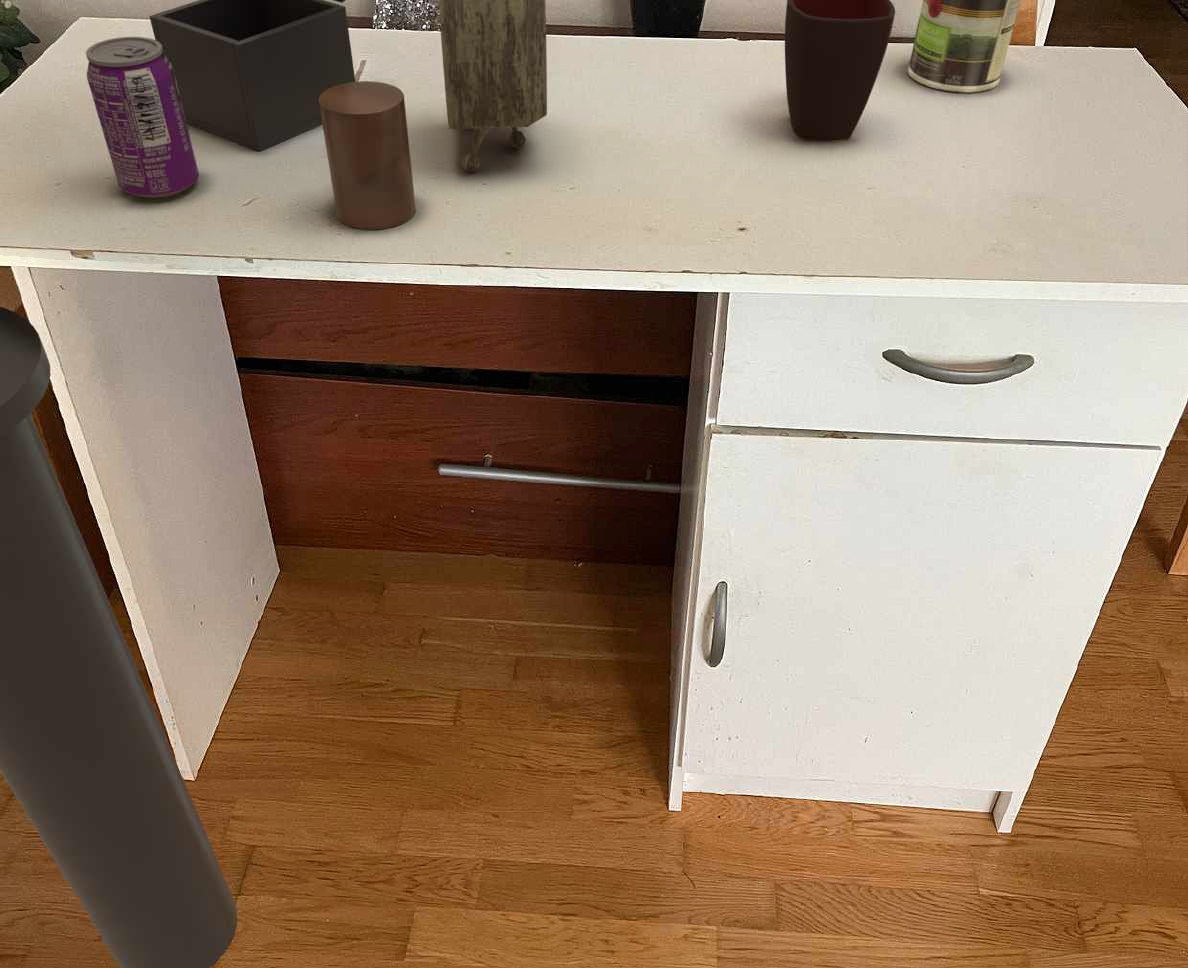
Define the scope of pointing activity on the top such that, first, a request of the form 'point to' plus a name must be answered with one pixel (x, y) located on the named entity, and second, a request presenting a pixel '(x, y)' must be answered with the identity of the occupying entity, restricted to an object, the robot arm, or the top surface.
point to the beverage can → (141, 116)
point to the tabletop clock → (493, 67)
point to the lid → (340, 1)
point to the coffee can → (962, 43)
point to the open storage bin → (255, 64)
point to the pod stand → (368, 154)
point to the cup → (833, 62)
